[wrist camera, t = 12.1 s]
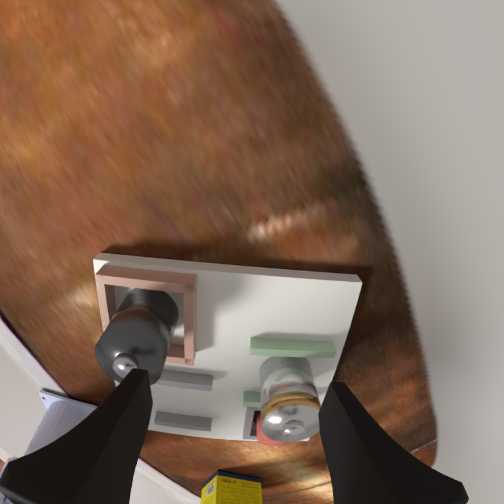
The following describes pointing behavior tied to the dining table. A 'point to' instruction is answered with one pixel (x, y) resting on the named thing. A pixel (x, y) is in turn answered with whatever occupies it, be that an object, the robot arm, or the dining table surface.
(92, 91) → the dining table surface
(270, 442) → the button
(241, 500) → the supplement box
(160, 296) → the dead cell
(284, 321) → the tester board
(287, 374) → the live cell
